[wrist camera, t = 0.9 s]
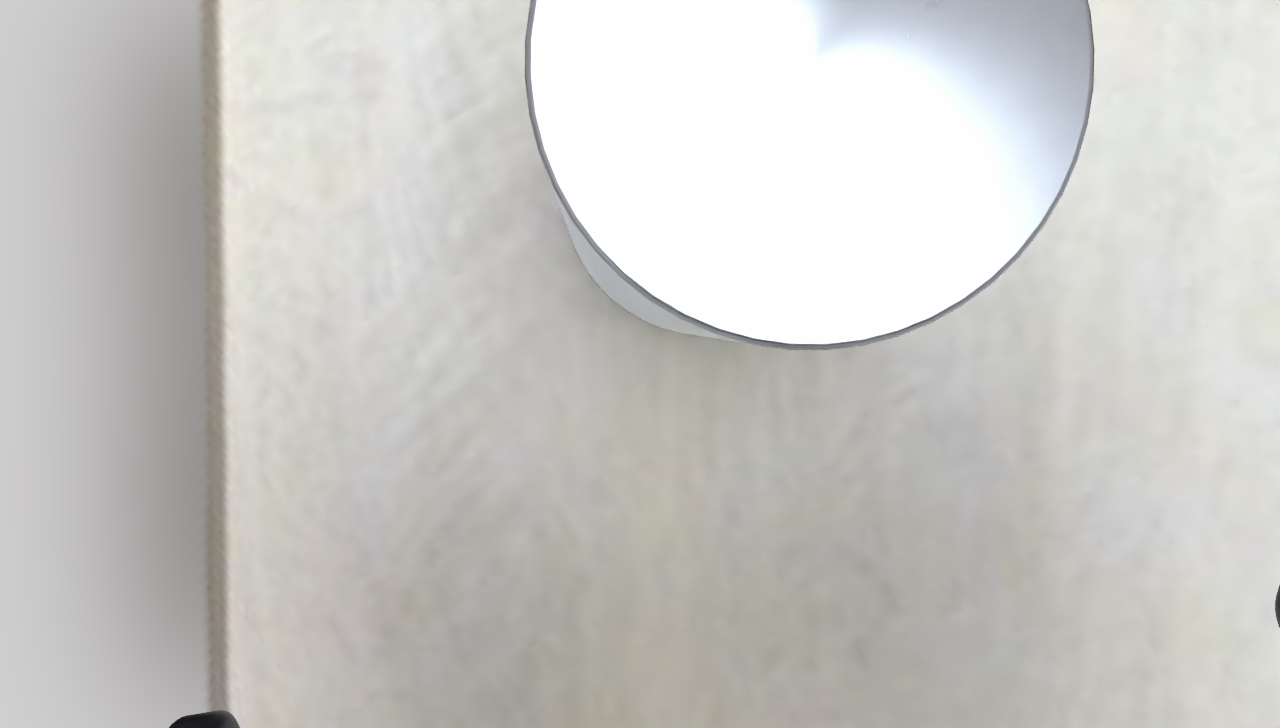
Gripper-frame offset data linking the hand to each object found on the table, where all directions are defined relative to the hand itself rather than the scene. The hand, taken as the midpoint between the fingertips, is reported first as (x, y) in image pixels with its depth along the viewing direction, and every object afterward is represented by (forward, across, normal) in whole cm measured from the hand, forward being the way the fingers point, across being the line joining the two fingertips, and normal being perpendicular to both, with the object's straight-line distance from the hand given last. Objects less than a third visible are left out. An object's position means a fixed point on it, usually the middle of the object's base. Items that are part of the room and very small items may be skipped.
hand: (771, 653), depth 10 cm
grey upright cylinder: (+15, -2, +3) cm, 16 cm away
